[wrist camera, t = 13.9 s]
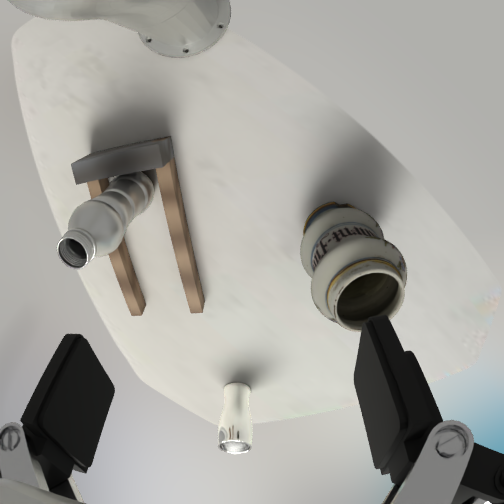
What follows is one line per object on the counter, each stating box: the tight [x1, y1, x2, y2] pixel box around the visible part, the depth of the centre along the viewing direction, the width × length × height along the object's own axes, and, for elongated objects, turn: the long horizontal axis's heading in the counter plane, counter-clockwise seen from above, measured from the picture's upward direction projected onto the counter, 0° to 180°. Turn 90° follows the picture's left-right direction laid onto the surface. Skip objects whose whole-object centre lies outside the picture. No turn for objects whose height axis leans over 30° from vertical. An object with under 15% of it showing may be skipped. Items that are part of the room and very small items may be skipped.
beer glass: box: [218, 382, 253, 454], centre depth 60 cm, size 7×7×15 cm
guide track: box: [71, 136, 205, 316], centre depth 45 cm, size 28×13×6 cm, turn 6°
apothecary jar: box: [300, 202, 407, 332], centre depth 40 cm, size 12×12×18 cm
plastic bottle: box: [57, 171, 154, 269], centre depth 35 cm, size 6×7×20 cm
